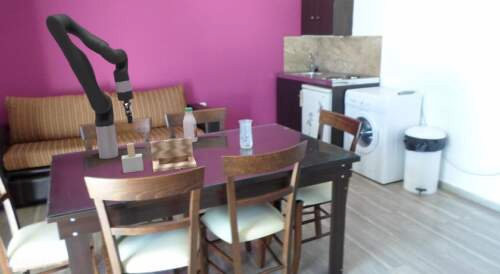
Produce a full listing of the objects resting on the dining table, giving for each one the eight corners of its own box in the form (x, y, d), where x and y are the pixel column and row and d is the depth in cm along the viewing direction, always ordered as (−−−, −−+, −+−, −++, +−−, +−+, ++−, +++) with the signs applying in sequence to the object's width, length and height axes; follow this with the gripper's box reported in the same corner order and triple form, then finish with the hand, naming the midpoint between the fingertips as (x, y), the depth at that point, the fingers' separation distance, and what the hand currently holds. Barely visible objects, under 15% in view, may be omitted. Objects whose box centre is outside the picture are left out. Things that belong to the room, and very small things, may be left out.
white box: (123, 173, 180) (119, 146, 177) (124, 169, 185) (120, 143, 181) (143, 170, 182) (140, 144, 179) (143, 167, 187) (140, 141, 183)
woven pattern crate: (153, 172, 179) (150, 149, 176) (152, 163, 192) (150, 141, 189) (196, 166, 184) (194, 144, 181) (192, 158, 197) (191, 137, 194)
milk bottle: (191, 143, 223) (188, 109, 218) (181, 142, 227) (178, 108, 222) (200, 140, 230) (197, 107, 224) (190, 139, 234) (187, 106, 228)
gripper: (117, 89, 198) (123, 120, 202) (115, 93, 184) (122, 126, 189) (132, 87, 199) (138, 117, 204) (131, 90, 186) (138, 123, 191)
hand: (130, 121), depth 196 cm, fingers open, 8 cm apart
